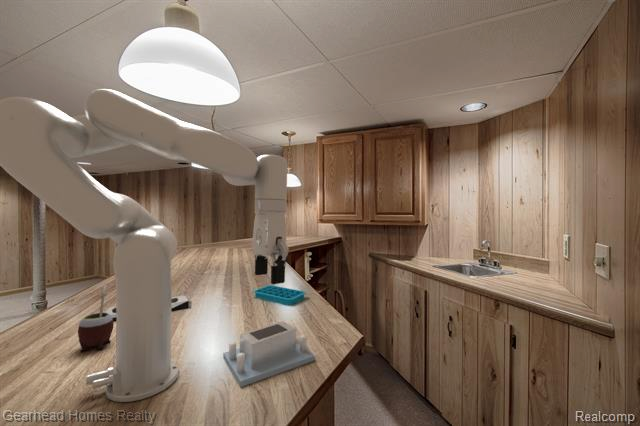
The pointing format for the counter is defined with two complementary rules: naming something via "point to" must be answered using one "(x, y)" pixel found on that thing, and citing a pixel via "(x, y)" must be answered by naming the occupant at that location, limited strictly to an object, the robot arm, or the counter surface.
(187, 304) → the graphics card
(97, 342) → the mate gourd
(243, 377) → the pin tray
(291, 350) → the block
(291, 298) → the ice cube tray
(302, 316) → the counter surface
